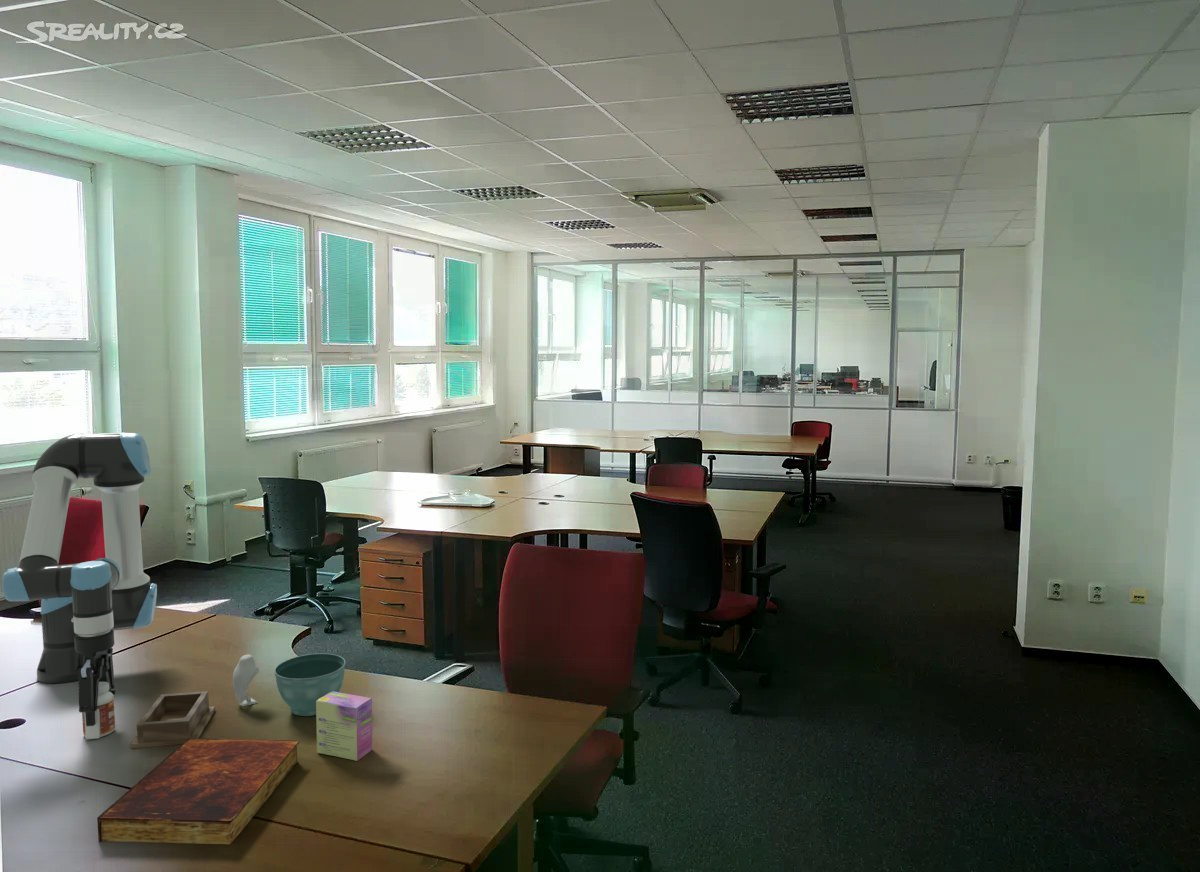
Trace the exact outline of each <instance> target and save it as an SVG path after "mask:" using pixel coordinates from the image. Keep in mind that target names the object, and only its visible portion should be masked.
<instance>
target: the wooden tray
mask: <svg viewBox="0 0 1200 872" xmlns="http://www.w3.org/2000/svg"><path fill="white" fill-rule="evenodd" d="M215 711H216V706H215V705H214V706H210V701H209V691H208V690H206V691H205V690H203V691H194V692H193V691H192V692H191V691H190V692H179V693H178V692H177V693H166V694H165V693H164V694H160V695H159V696H158V697H157V699H156V700H155V701H154V702H153V704H152V705H151V707H150V708H149V709H148V710H147V712H146V713H145V714H144V715H143V716H142V718H141V719H140V720H139V721H138V722H137V724H136V736H135V738H134V739H133V740H132V741H131V742H130V749H141V748H153V747H164V746H175V745H176V746H177V745H182V744H183V743H184V742H185V741H186V740H187V739H188V738H190V739H191V738H197V739H200V736H201V735H202V733H203V731H204V729H205V728H206V726H207V725H208V723H209V721H210V720H211V718H212V716H213V715H214V713H215Z"/></svg>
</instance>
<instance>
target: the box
mask: <svg viewBox="0 0 1200 872" xmlns="http://www.w3.org/2000/svg"><path fill="white" fill-rule="evenodd" d="M315 716H316V717H315V719H316V720H315V721H316V724H315V725H316V726H315V727H316V753H317V754H321V755H327V756H332V757H333V756H334V757H338V758H343V759H346V760H347V759H348V760H351V761H354V762H357V761H359V760H361V759H363V757H364V756H366V755H367V754H369V753H370V752H371V751H373V698H372V697H368V696H363V695H355V694H350V693H344V692H340V691H339V692H334V691H332V692H330V693H328V694H326V695H325V696H323V697H321V698H320V699H318V700H317V701H316V715H315Z"/></svg>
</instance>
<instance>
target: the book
mask: <svg viewBox="0 0 1200 872" xmlns="http://www.w3.org/2000/svg"><path fill="white" fill-rule="evenodd" d="M300 743H301V741H300V740H289V739H288V740H287V739H285V740H284V739H242V738H241V739H238V738H237V739H235V738H230V739H229V738H198V739H197V738H191V739H190V738H188V739H187V740H186V741H185V742H184V743H183V744H179V746H178V747H177V748H176V749H174V750H173V751H172V752H171V753H170V754H169V755H168V756H166V757H165V759H164V758H163V760H162V761H160V762H159V764H157V765H156V766H155V767H154V768H153V769H151V770H150V771H149V772H148V773H147V774H146V775H144V776H143V777H142V778H141V779H140V780H138V782H137V783H135V784H134V785H133V786H132V787H131V788H130V789H129V790H127V791H126V792H125V793H124V794H123V795H121V796H120V797H119V798H118V799H117V800H116V801H115V802H113V803H112V804H111V805H110V806H109V807H107V808H106V810H104V811H103V812H102V813H101V814H99V816H97V818H96V820H97V822H96V823H97V837H98V843H101V842H111V843H112V842H114V843H115V842H116V843H117V842H118V843H119V842H121V843H158V844H159V843H163V844H167V843H168V844H203V845H204V844H205V845H208V844H209V845H231V844H232V843H233V842H234V841H235V839H236V838H237V837H238V835H239V834H240V833H241V832H242V831H243V830H244V829H245V827H246V826H247V825H248V823H249V822H250V821H251V820H252V819H253V817H254V816H255V815H256V813H258V811H259V810H260V808H261V807H262V806H263V805H264V804H265V803H266V802H267V800H268V799H269V797H270V796H271V795H272V794H273V792H274V791H275V790H276V789H277V788H278V787H279V785H280V784H281V782H283V780H285V778H286V777H287V775H288V774H289V772H291V771H292V769H293V768H294V767H295V765H296V764H297V763H298V745H299V744H300Z"/></svg>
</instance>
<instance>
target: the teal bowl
mask: <svg viewBox="0 0 1200 872" xmlns="http://www.w3.org/2000/svg"><path fill="white" fill-rule="evenodd" d="M345 668H346V659H345V658H344V657H342V656H341V655H337V654H334V653H325V652H324V653H323V652H320V653H310V654H309V653H308V654H302V655H299V656H295V657H292V658H289V659H285V660H284V661H282V662H280V663H279V664H277V665H276V667H275V668H274V670H273V671H274V677H275V681H276V687H277V690H278V692H279V695H280V696H281V698H282V701H284V703H285V704H286V705H287V706H288V707H289V708H290V711H291V713H292V714H293V715H295V716H299V717H300V716H301V717H311V716H312V717H313V716H316V701H317V700H318V699H320V698H321V697H323V696H325V695H326V694H328V693H330V692H332V691H334V692H339V693H340V691H341V688H342V685H343V683H344V678H345V677H344V676H345Z"/></svg>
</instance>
